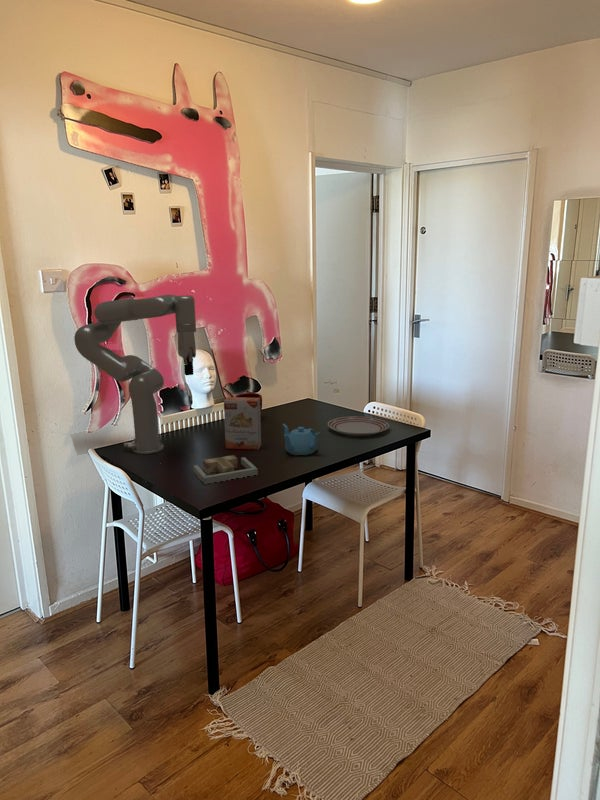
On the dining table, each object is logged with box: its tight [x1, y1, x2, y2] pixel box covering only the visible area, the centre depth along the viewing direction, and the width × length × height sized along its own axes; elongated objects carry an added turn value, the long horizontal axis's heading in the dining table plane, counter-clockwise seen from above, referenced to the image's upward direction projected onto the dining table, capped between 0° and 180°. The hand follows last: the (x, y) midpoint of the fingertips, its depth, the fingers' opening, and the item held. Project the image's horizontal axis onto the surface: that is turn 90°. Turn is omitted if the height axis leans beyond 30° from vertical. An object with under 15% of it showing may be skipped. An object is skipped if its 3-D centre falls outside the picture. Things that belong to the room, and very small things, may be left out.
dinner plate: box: [327, 415, 390, 437], centre depth 270 cm, size 27×27×3 cm
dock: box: [193, 456, 259, 485], centre depth 221 cm, size 20×14×2 cm
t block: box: [202, 454, 239, 474], centre depth 222 cm, size 12×12×4 cm
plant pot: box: [234, 392, 263, 418], centre depth 287 cm, size 13×13×12 cm
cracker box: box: [223, 396, 262, 451], centre depth 247 cm, size 14×6×21 cm, turn 82°
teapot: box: [282, 423, 321, 456], centre depth 242 cm, size 15×15×10 cm
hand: (189, 374), depth 237 cm, fingers closed
